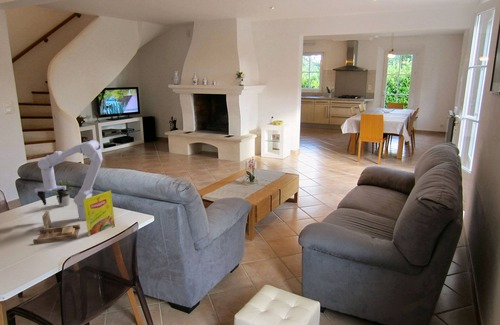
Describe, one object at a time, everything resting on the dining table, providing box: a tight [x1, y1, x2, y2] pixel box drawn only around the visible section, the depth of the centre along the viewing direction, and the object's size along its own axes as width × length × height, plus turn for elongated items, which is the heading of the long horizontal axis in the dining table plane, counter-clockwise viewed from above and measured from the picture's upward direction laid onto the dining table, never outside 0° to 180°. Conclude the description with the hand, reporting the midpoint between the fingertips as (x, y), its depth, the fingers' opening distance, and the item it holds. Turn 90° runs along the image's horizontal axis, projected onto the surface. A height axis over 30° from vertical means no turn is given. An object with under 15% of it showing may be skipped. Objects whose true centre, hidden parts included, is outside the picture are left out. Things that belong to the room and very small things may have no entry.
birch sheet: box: [42, 210, 52, 229], centre depth 180 cm, size 2×7×8 cm, turn 17°
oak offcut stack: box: [61, 225, 75, 236], centre depth 173 cm, size 5×8×2 cm, turn 16°
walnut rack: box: [32, 224, 81, 245], centre depth 172 cm, size 18×12×3 cm, turn 106°
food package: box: [83, 189, 116, 237], centre depth 175 cm, size 15×1×20 cm, turn 149°
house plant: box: [53, 179, 75, 208], centre depth 210 cm, size 14×14×16 cm
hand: (53, 203), depth 190 cm, fingers open, 7 cm apart
